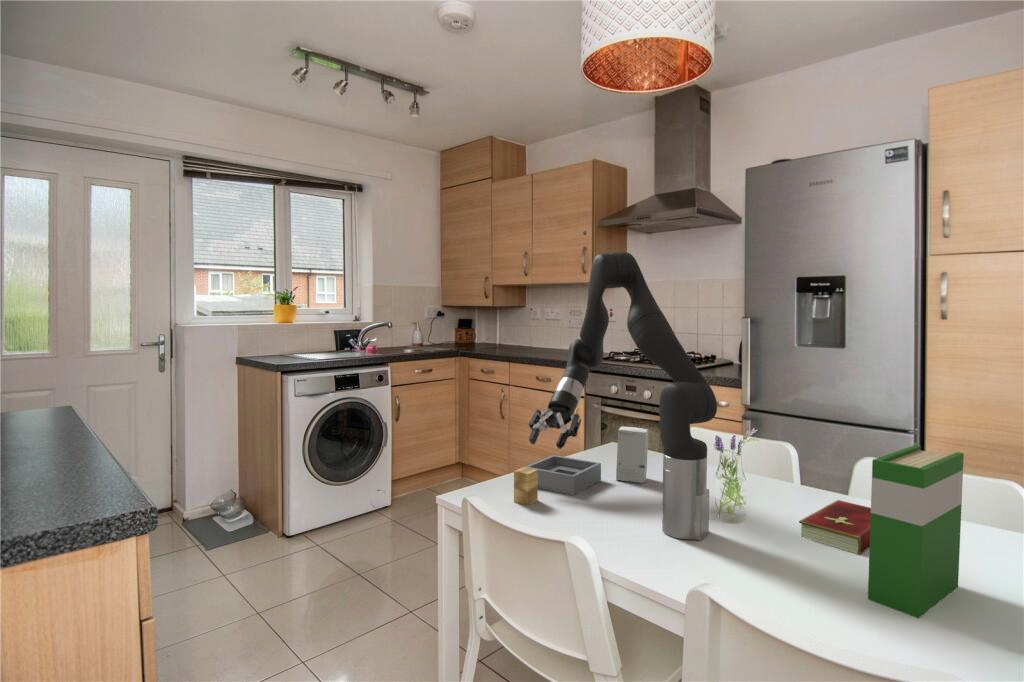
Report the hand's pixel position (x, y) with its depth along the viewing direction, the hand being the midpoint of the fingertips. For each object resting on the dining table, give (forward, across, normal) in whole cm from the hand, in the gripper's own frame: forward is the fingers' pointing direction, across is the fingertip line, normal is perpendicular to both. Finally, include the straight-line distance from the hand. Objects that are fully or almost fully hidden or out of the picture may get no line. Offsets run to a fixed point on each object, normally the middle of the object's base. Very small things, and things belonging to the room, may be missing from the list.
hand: (544, 444), depth 153 cm
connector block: (+16, 0, +2) cm, 16 cm away
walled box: (+2, 0, +16) cm, 16 cm away
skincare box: (-8, +15, +26) cm, 31 cm away
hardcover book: (0, +70, +19) cm, 72 cm away
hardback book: (+16, +82, +2) cm, 83 cm away
